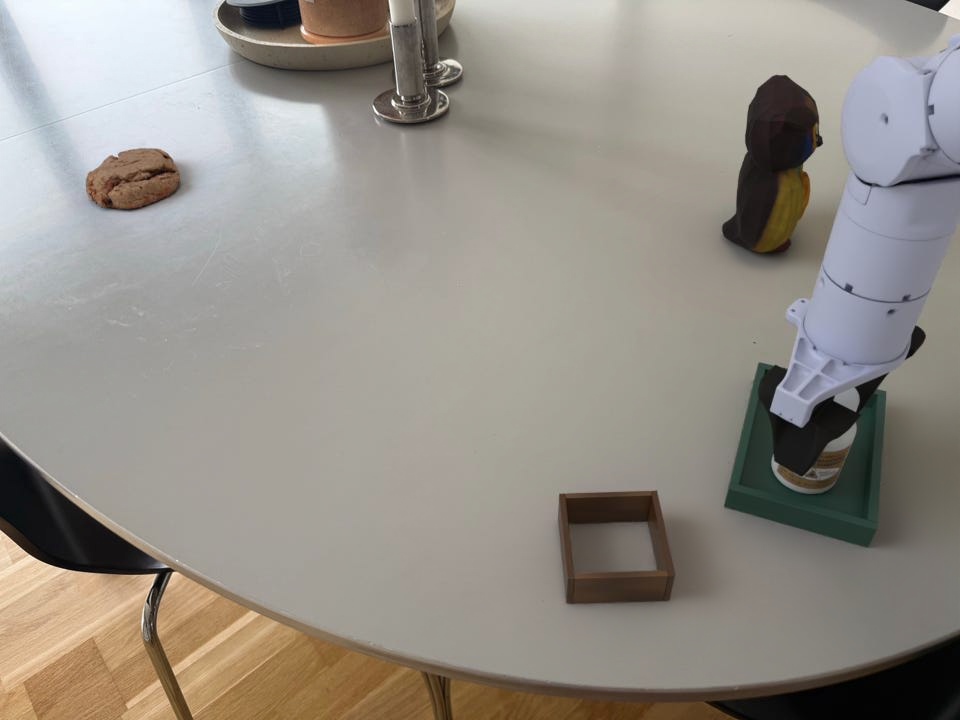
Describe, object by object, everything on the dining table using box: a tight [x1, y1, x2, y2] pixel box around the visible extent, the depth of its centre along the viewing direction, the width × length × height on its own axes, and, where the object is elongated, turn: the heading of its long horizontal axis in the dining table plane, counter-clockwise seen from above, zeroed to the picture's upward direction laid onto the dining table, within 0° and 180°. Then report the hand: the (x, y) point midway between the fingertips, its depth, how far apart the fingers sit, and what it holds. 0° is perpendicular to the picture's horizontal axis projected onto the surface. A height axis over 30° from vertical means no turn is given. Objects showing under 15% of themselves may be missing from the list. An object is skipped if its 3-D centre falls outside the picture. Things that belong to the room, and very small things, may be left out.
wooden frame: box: [557, 490, 676, 604], centre depth 52 cm, size 6×6×3 cm
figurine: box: [721, 74, 824, 253], centre depth 73 cm, size 10×7×15 cm
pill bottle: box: [771, 387, 859, 494], centre depth 54 cm, size 4×4×8 cm
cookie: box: [85, 147, 181, 210], centre depth 89 cm, size 10×11×3 cm
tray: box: [723, 361, 887, 548], centre depth 58 cm, size 13×9×2 cm
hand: (816, 436), depth 54 cm, fingers open, 6 cm apart
